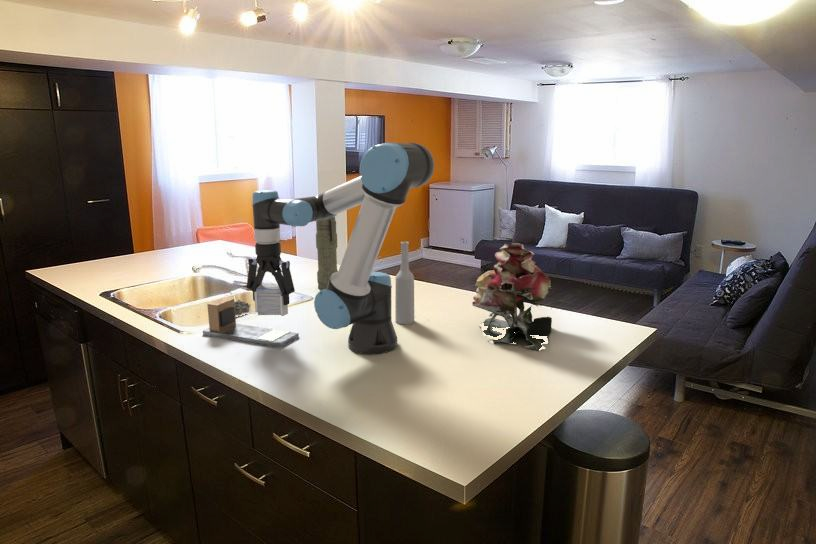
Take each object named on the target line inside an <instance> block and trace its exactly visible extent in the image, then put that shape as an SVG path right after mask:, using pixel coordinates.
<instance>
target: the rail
mask: <svg viewBox="0 0 816 544" xmlns="http://www.w3.org/2000/svg"><path fill="white" fill-rule="evenodd" d="M234 302H235V298H230V297H222V298H219V299H217V300H214V301H211V302H209V303H206V304H207V316H208V326H209V327H207V328H206V329H203V330H202V336H206V337H213V338H219V339H224V340H231V341H236V342H242V343H248V344H254V345H259V346H265V347H266V346H267V347H272V348H278V349H281V348H283V347H285V346H287V345H289V344H290V343H292V342H294V341H295V340H297V339H299V337H300V336H299V332H293V331H286V330H281V329H273V328H268V327H267V328H266V327H262V326H261V327H260V326H254V325H247V324H242V323H241V324H240V323H237V320H236V315H235V305H234Z"/></svg>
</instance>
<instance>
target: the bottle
mask: <svg viewBox="0 0 816 544" xmlns="http://www.w3.org/2000/svg"><path fill="white" fill-rule="evenodd" d="M400 244H401V245H400V269H399V271H398V273H397V274H396V275H395V292H394V293H395V295H394V296H395V297H394V298H395V307H394V308H395V313H394V314H395V315H394V316H395V323H396V324H399V325H404V324H405V325H411V323H412V324H413V323H415V276H414V274H413V273H412V272H411V270H410V264H409V263H410V262H409V244H410V243H409V241H401V242H400Z"/></svg>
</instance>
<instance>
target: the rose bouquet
mask: <svg viewBox="0 0 816 544" xmlns="http://www.w3.org/2000/svg"><path fill="white" fill-rule="evenodd" d="M534 256H535V252H533V251H531V250H527V249H526V248H524V244H521V243H518V242H517V243H516V242H513V243H510V244H509V243H504V245H503V246H501V247H500V248H499V251H497V252H495V254H494V257H495V258H496V261H498V262H497V263H496V264H494V265H493V270H487V271H486V272H484V273H483V274H481V275H480V276H479V277H478V278H477V280H476V282H475V287H477V288H476V291H475V293H476V295H474V296H473V300H474V301H472V302H471V304H472V306H473V307H474V308H478V309H482V310H484V311H486V312H489V313H490V314H489V315H488V316H489V317H488V318H486V319H484V321H483V323H484V326H488V328H487V330H484V331H483V332H484V333H485V334H486V335H490V336H493V337H497V336H499V335H502V333H500V332H497V331H493V330H492V329H493V328H492V327H495V328H496V327H497V328H506V327H510V328H508V329H506V334H505V336H504V337H503V338H501V339H498V340H493V341H494V344H496V343H504V344H505V343H506V344H509V343H513V342H514V343H517V344H518V345H519V342H516V341H514V340H512V339H515V338H514V337H515V336H516V335H517V334H518V333H520V334H523V335H525V340H526V341H528V342H530V345H524V346H523V347H524V348H528V349H532V350H537V351H539V349H540V348H541V347H542V345H541V343H543V342H545V341H544V340H543V339H536V338H532V336H530V335H539V336H548V335H549V336H550V335H551V333H552V323H553V318H552V317H550V316H541V317H537V318H534V319H533V315H532V307H533V306H536V307H539V306H540V307H542V305H541V304H538V303H539V302H540V303H541V302H542V301H546V300H550V299H549V298H547V299H545V298H546V296H547V294H549V291H554V289H553V288H551V287H552V286H551V285H552V284H551V283H552V282H551V279H550V277H549V276H547V275H546V274H545V272H544V271H542V269H541V268H540V267H539V266H538V265H536V264H537V262H536V261H534V260H533V259H532V258H533V257H534ZM525 303H527V304H530V307H528V308H527V309H525ZM550 309H551V310H552V307H551V308H550ZM518 310H519V313H518ZM497 316H499V317H502V318H504V320H503V319H502V320H501V319H499V318H496V317H497ZM503 330H504V329H503ZM518 331H519V332H518ZM514 332H515V333H516V334H515V333H514ZM517 332H518V333H517ZM549 336H548V337H549ZM495 342H496V343H495Z"/></svg>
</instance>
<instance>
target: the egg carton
mask: <svg viewBox="0 0 816 544" xmlns="http://www.w3.org/2000/svg"><path fill="white" fill-rule="evenodd" d="M234 305H235V316H241V315H242V314H244V313H246V314H247V313H250V308H251V305H252V304H249V303H248V302H246V301H242V300H240V299H238V300H236V301H234Z"/></svg>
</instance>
